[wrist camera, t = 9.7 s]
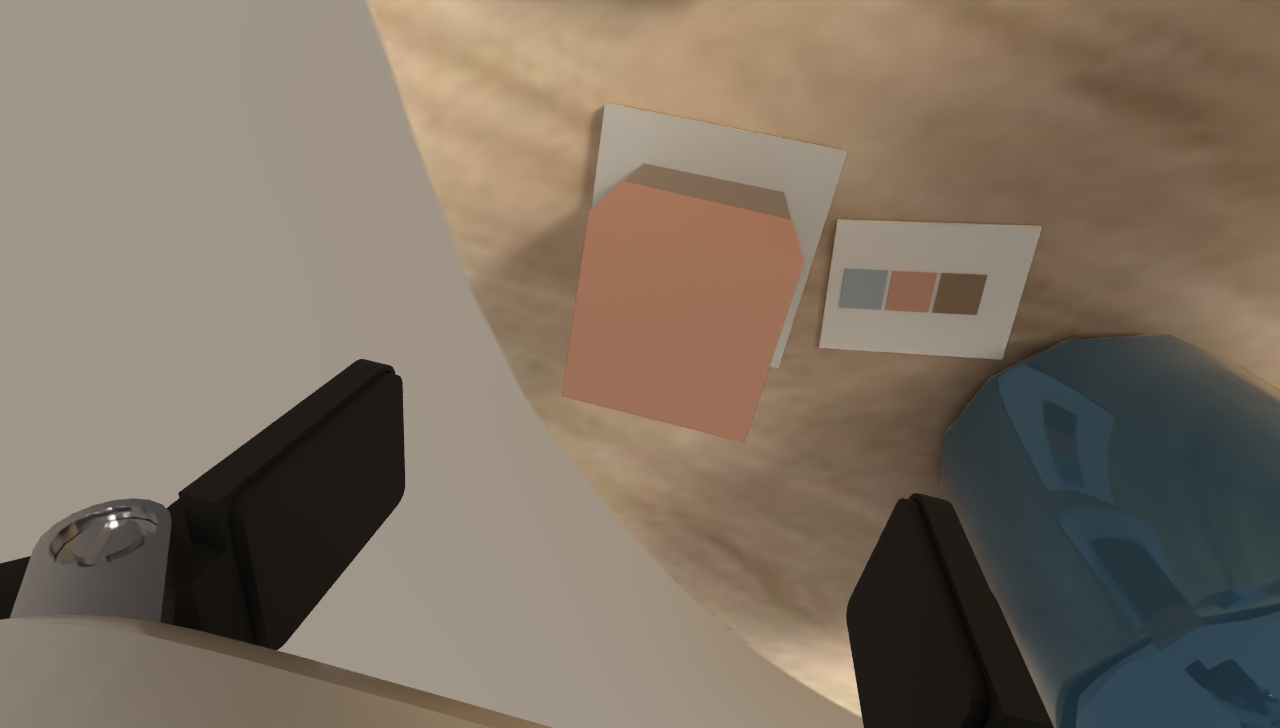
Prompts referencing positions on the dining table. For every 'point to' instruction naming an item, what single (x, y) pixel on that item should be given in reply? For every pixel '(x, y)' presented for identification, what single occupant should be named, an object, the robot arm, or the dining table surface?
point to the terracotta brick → (680, 308)
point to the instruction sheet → (926, 287)
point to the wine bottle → (1130, 529)
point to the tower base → (723, 173)
